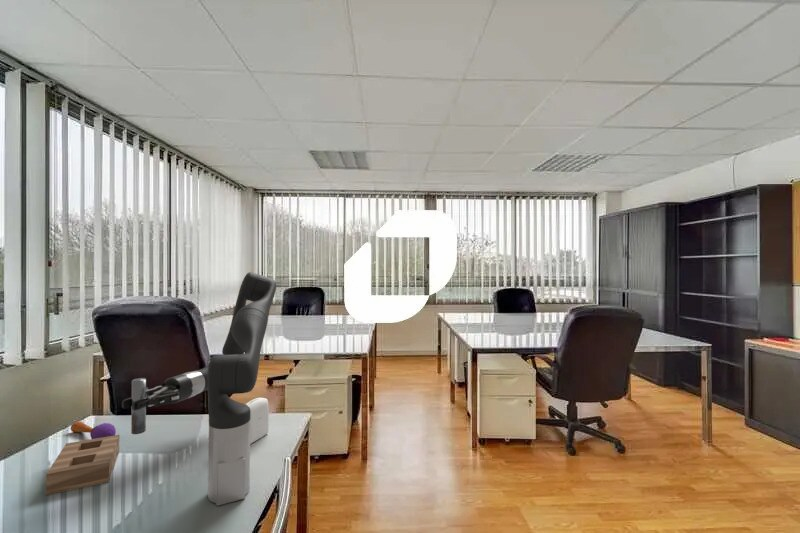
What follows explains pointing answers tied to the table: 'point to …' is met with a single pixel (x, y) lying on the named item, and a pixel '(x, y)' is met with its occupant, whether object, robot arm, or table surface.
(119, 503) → the table surface
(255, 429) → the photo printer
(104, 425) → the maraca
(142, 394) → the pin
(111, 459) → the block
